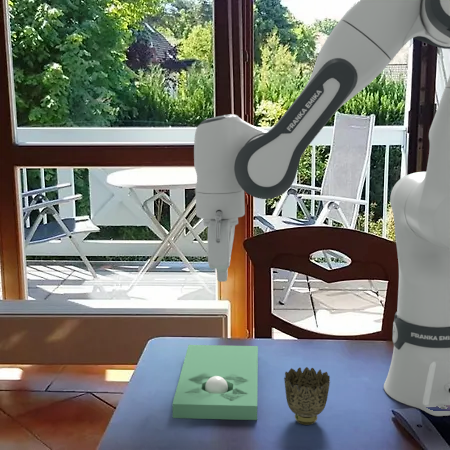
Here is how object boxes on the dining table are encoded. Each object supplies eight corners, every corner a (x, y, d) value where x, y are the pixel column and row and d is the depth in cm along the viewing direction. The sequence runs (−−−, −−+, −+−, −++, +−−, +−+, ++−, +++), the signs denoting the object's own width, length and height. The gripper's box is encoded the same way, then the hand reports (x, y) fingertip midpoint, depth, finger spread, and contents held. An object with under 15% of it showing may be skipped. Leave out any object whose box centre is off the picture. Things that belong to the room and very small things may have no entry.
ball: (228, 387, 122) (227, 371, 120) (228, 404, 119) (227, 387, 117) (206, 387, 122) (205, 371, 120) (205, 404, 119) (204, 387, 117)
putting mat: (257, 357, 138) (257, 346, 137) (257, 420, 112) (257, 406, 112) (188, 356, 138) (188, 344, 138) (172, 417, 113) (172, 403, 112)
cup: (327, 434, 108) (329, 387, 106) (280, 430, 109) (281, 383, 107) (329, 412, 115) (331, 368, 113) (286, 408, 116) (287, 364, 115)
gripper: (236, 216, 113) (238, 296, 116) (239, 196, 133) (240, 264, 136) (198, 217, 113) (201, 297, 116) (206, 196, 133) (209, 265, 136)
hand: (222, 279), depth 126 cm, fingers closed
